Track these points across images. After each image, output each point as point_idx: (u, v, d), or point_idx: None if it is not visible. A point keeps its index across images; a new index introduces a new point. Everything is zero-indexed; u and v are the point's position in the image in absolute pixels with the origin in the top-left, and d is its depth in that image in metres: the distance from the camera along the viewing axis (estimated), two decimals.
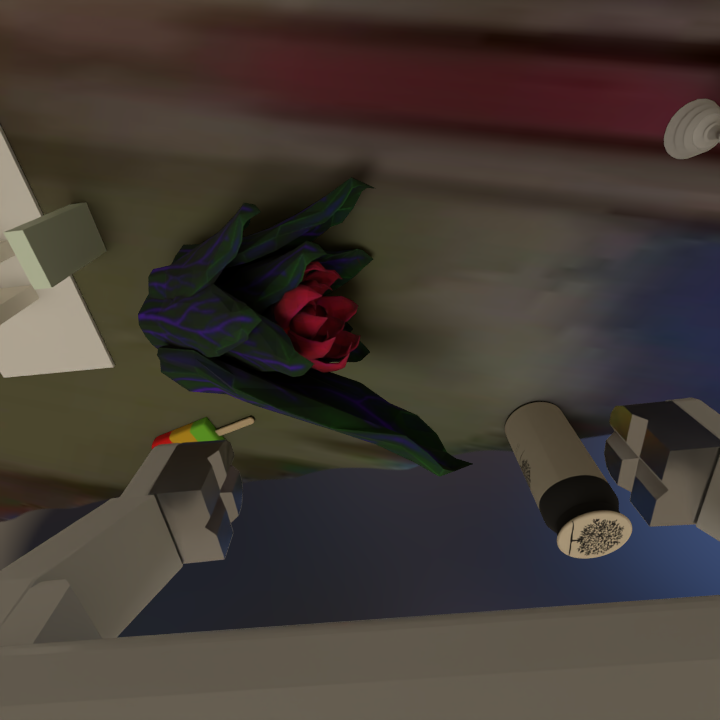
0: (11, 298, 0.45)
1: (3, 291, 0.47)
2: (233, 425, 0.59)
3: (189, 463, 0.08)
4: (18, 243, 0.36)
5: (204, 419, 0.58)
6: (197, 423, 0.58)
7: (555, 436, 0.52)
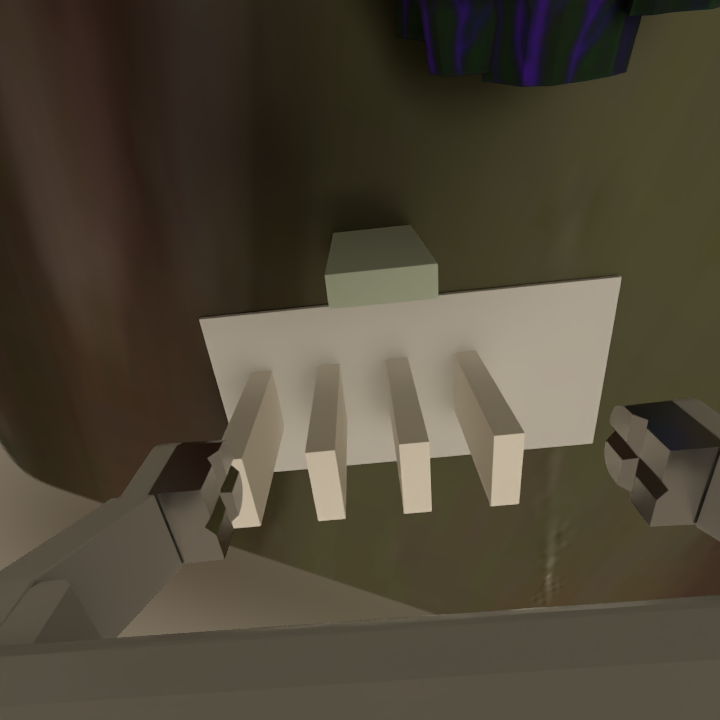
0: (465, 375, 0.29)
1: (457, 389, 0.32)
2: None
3: (189, 463, 0.08)
4: (348, 290, 0.20)
5: None
6: None
7: None
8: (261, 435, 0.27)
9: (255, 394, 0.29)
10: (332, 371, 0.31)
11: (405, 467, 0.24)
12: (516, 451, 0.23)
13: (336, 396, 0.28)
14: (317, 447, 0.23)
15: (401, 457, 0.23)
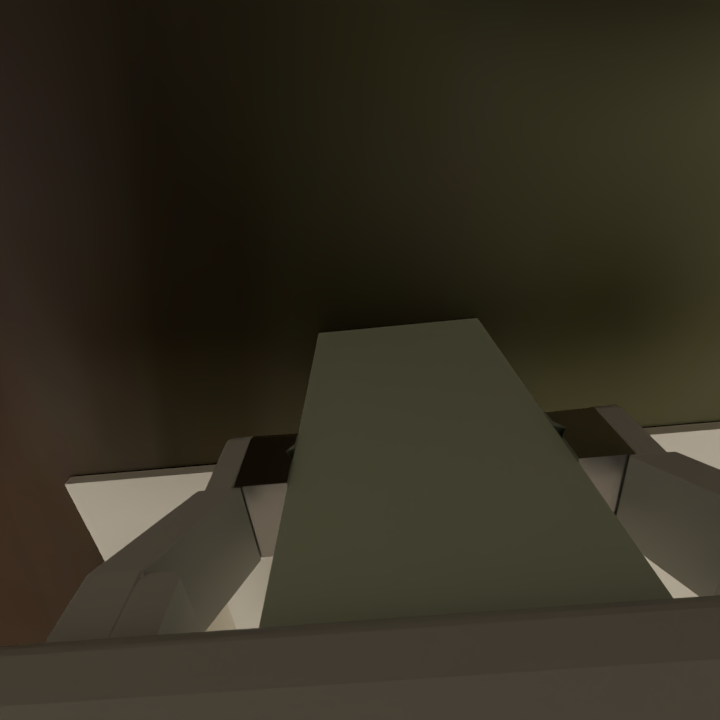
0: None
1: None
2: None
3: (268, 456, 0.08)
4: None
5: None
6: None
7: None
8: None
9: None
10: None
11: None
12: None
13: None
14: None
15: None
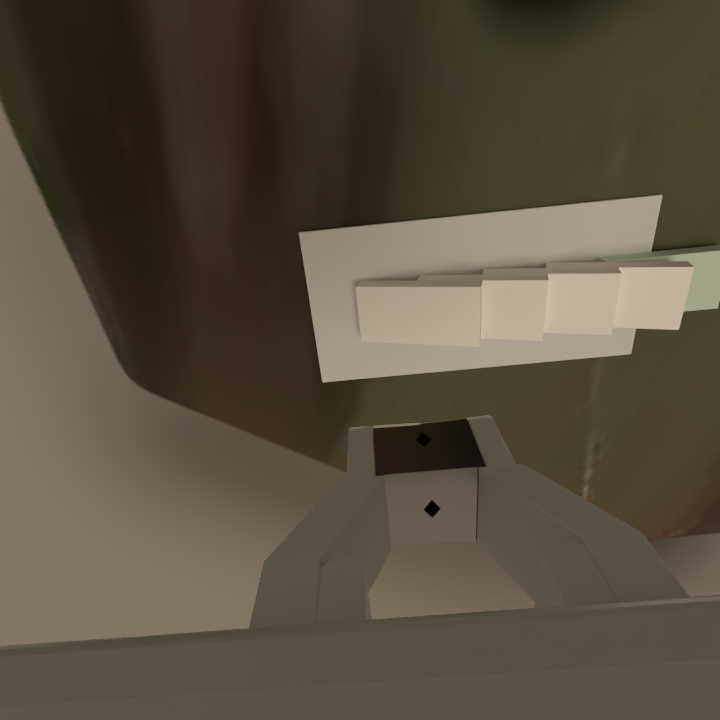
0: (594, 267, 0.34)
1: None
2: None
3: (399, 445, 0.08)
4: None
5: None
6: None
7: None
8: None
9: (397, 282, 0.36)
10: (431, 276, 0.36)
11: (617, 292, 0.33)
12: None
13: (474, 275, 0.35)
14: (542, 277, 0.33)
15: (619, 284, 0.33)
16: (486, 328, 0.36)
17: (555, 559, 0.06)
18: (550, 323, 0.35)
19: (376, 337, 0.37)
